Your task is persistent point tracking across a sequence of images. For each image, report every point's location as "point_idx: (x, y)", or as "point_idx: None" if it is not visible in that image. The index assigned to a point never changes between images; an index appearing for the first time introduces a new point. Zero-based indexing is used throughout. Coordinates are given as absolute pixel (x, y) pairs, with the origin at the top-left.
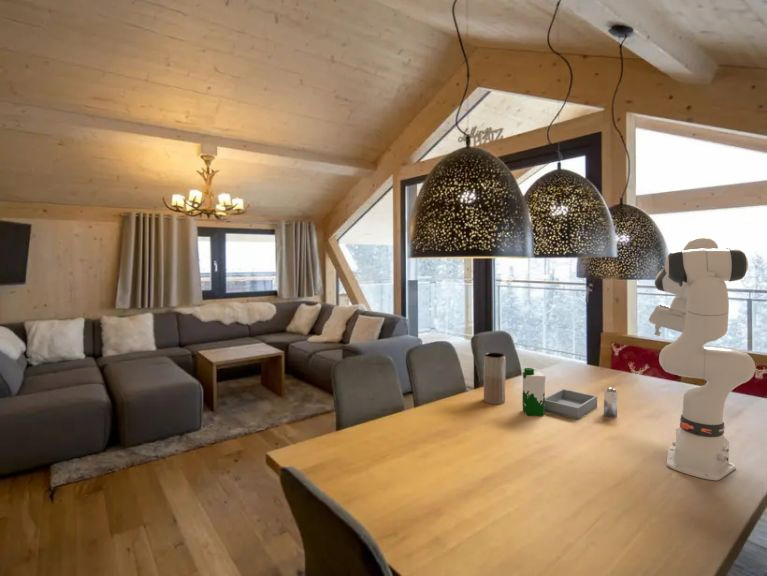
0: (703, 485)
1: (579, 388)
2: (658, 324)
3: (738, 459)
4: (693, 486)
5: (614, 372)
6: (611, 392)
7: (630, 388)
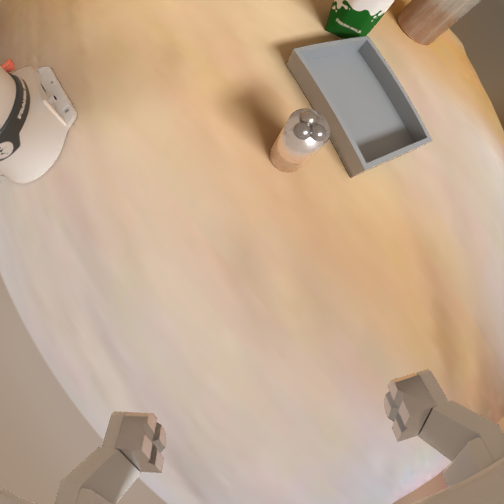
0: None
1: (462, 258)
2: (486, 468)
3: (5, 215)
4: None
5: None
6: (292, 113)
7: None
